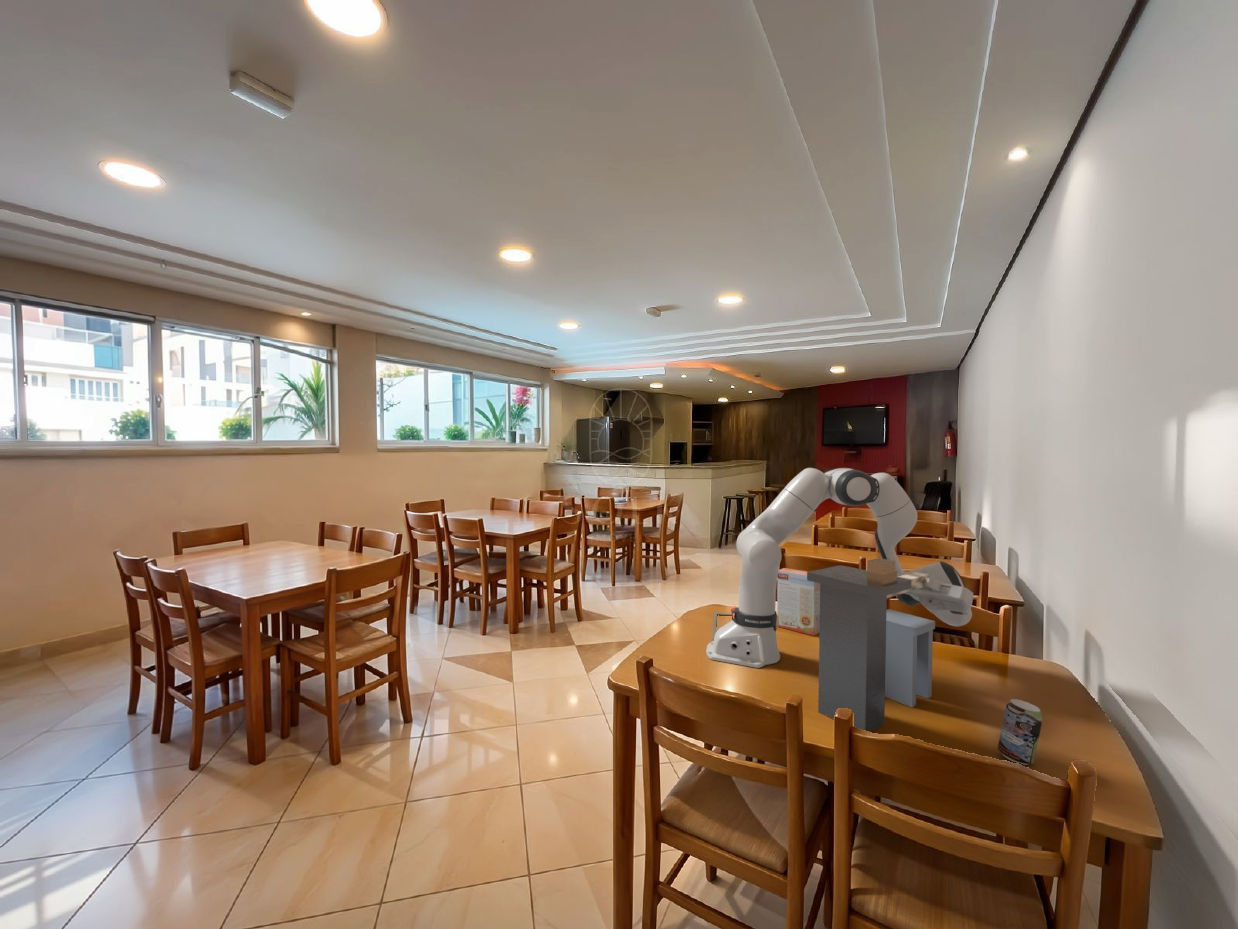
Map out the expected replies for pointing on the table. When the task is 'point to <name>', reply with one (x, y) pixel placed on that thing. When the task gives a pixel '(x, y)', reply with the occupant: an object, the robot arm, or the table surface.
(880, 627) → the steel pedestal
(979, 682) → the table surface
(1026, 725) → the beverage can
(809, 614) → the cracker box
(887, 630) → the slate trestle
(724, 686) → the table surface
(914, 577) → the birch slat
